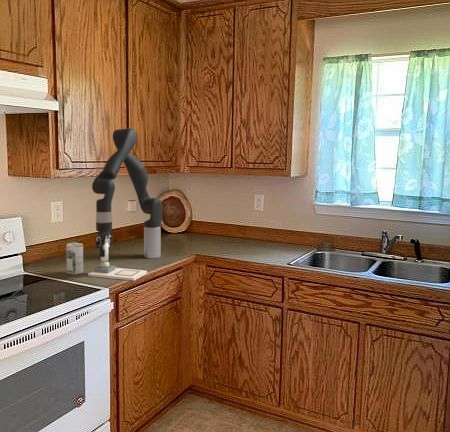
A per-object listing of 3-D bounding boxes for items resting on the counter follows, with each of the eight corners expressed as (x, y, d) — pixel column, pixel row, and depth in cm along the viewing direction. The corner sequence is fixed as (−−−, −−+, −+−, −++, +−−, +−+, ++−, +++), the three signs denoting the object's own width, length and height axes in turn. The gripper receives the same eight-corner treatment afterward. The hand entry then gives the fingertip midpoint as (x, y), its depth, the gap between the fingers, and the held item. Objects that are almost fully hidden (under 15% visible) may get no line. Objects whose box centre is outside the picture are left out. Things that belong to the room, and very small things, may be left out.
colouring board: (103, 268, 237) (103, 262, 237) (146, 273, 231) (146, 266, 230) (88, 276, 224) (88, 269, 223) (134, 280, 217) (133, 274, 217)
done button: (103, 267, 231) (103, 261, 231) (111, 268, 230) (110, 261, 230) (98, 269, 227) (98, 263, 227) (106, 270, 226) (106, 263, 226)
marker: (103, 259, 231) (102, 238, 229) (109, 259, 230) (109, 238, 228) (99, 260, 227) (98, 239, 225) (106, 261, 226) (105, 239, 224)
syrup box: (66, 273, 228) (65, 243, 226) (76, 270, 233) (75, 241, 231) (74, 275, 225) (73, 245, 223) (84, 272, 230) (83, 243, 228)
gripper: (104, 218, 233) (105, 252, 236) (89, 222, 220) (89, 258, 222) (118, 219, 231) (118, 253, 234) (103, 223, 218) (103, 259, 220)
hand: (104, 255), depth 228 cm, fingers closed on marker, 3 cm apart
